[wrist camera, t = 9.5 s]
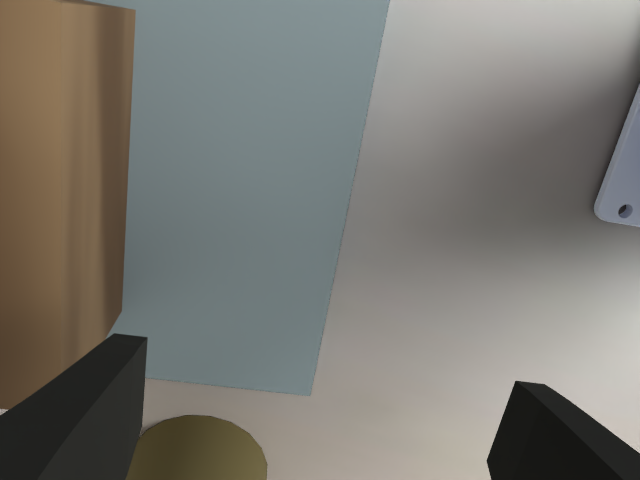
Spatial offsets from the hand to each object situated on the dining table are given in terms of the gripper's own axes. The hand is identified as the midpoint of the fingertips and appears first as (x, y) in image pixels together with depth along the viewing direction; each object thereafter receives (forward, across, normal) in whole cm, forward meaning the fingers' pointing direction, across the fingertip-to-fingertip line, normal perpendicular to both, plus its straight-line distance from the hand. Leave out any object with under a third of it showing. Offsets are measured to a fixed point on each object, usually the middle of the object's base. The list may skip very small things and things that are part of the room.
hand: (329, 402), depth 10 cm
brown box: (+9, +8, -1) cm, 12 cm away
